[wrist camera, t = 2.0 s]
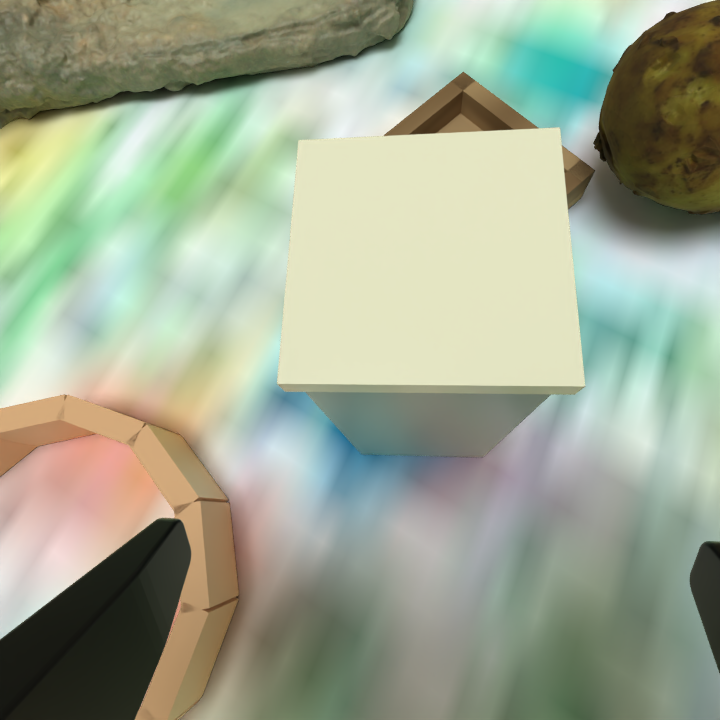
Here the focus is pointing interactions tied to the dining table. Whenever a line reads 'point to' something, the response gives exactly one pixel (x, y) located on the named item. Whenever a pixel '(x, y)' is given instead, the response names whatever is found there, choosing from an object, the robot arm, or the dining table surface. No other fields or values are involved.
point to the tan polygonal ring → (190, 504)
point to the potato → (668, 112)
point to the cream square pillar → (430, 287)
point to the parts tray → (483, 124)
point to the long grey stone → (170, 44)
